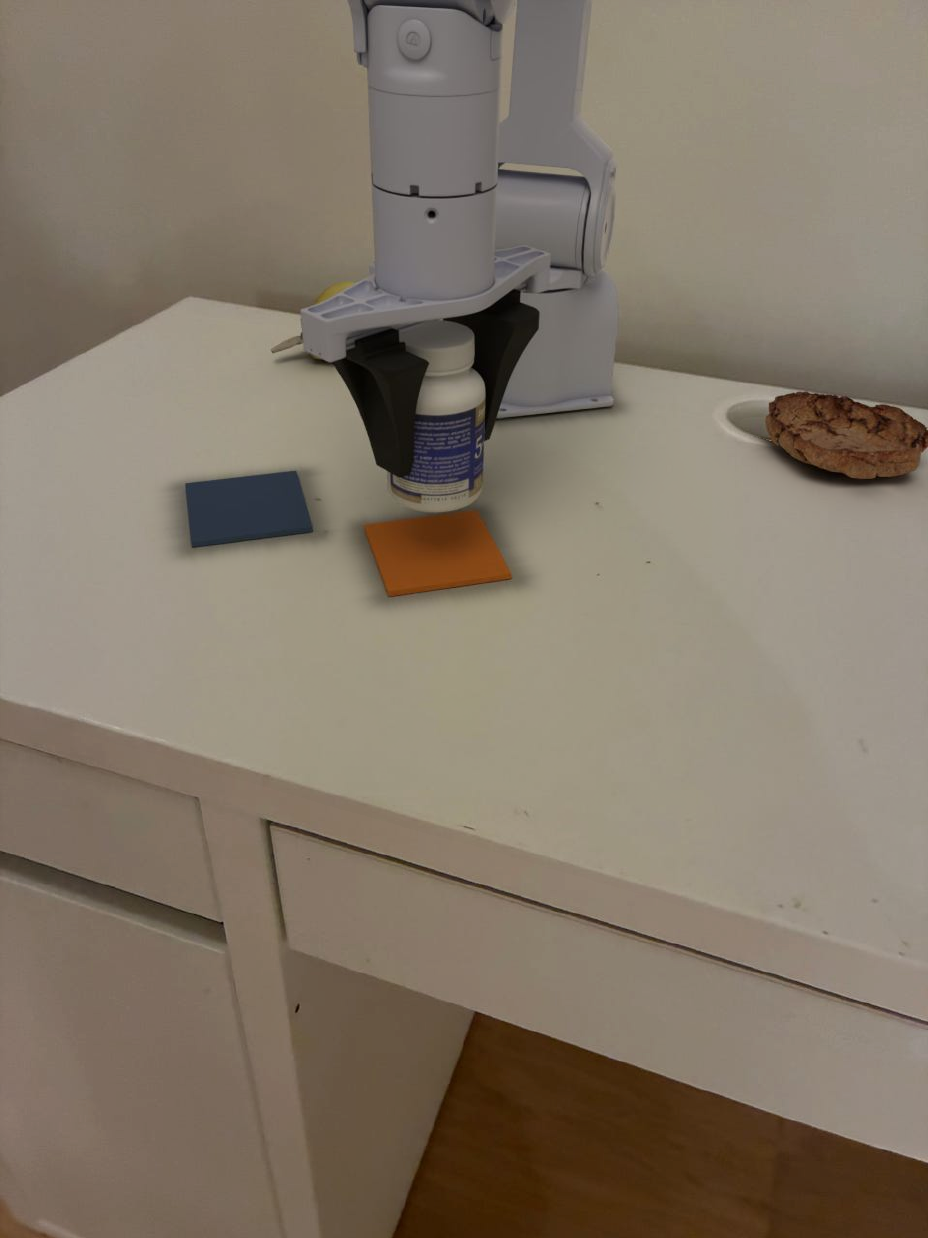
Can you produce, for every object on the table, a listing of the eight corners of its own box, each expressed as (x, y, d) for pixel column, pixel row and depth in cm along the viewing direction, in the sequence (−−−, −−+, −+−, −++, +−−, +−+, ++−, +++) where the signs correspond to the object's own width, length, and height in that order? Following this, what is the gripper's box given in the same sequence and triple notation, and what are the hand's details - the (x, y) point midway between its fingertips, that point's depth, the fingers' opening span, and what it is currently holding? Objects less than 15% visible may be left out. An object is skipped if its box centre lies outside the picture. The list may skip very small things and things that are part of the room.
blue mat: (296, 475, 64) (296, 470, 64) (312, 532, 59) (312, 526, 58) (185, 488, 63) (184, 482, 62) (191, 547, 57) (190, 541, 57)
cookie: (736, 402, 67) (730, 442, 69) (857, 466, 60) (846, 509, 62) (841, 372, 71) (832, 410, 73) (966, 428, 64) (953, 469, 66)
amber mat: (476, 515, 61) (477, 509, 60) (511, 579, 55) (511, 573, 55) (364, 529, 59) (363, 524, 59) (388, 597, 54) (388, 591, 53)
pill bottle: (495, 507, 53) (501, 349, 48) (400, 521, 52) (396, 360, 46) (466, 461, 57) (469, 310, 52) (377, 473, 56) (371, 319, 50)
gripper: (486, 143, 51) (479, 389, 59) (249, 191, 43) (279, 467, 51) (590, 169, 47) (567, 429, 55) (350, 227, 39) (366, 521, 47)
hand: (435, 451), depth 53 cm, fingers closed on pill bottle, 5 cm apart
